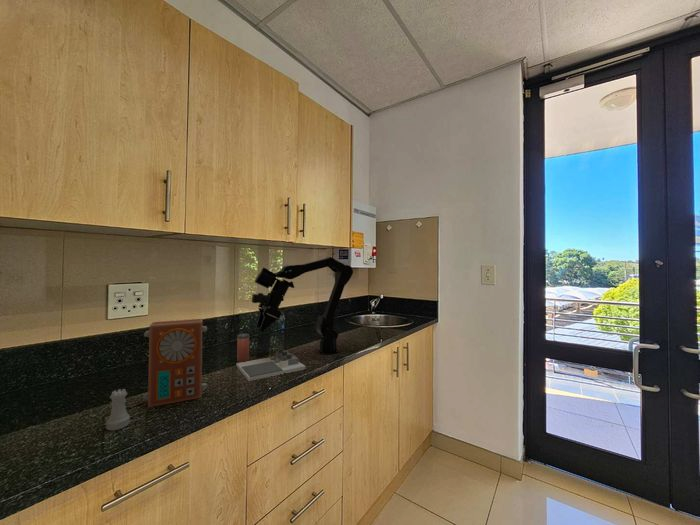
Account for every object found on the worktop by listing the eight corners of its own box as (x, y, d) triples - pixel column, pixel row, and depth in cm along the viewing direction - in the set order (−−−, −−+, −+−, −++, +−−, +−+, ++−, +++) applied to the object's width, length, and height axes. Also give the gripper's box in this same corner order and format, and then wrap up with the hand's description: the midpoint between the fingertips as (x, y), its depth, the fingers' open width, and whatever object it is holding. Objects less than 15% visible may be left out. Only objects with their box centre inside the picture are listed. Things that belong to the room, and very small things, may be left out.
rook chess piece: (100, 429, 65) (101, 393, 65) (122, 419, 69) (123, 386, 69) (113, 433, 63) (114, 396, 64) (134, 423, 68) (135, 388, 68)
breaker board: (287, 357, 118) (287, 346, 118) (305, 369, 104) (305, 356, 104) (236, 366, 107) (236, 354, 107) (248, 381, 93) (248, 366, 93)
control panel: (206, 397, 81) (141, 410, 74) (206, 388, 87) (146, 399, 80) (207, 321, 81) (143, 326, 74) (207, 317, 88) (147, 321, 81)
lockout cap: (247, 357, 118) (247, 333, 118) (250, 360, 114) (250, 335, 114) (236, 359, 115) (236, 334, 115) (238, 362, 112) (238, 336, 112)
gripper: (256, 283, 123) (238, 317, 120) (263, 285, 106) (241, 325, 103) (280, 294, 127) (262, 327, 124) (289, 298, 110) (270, 337, 107)
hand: (259, 329), depth 114 cm, fingers open, 9 cm apart
